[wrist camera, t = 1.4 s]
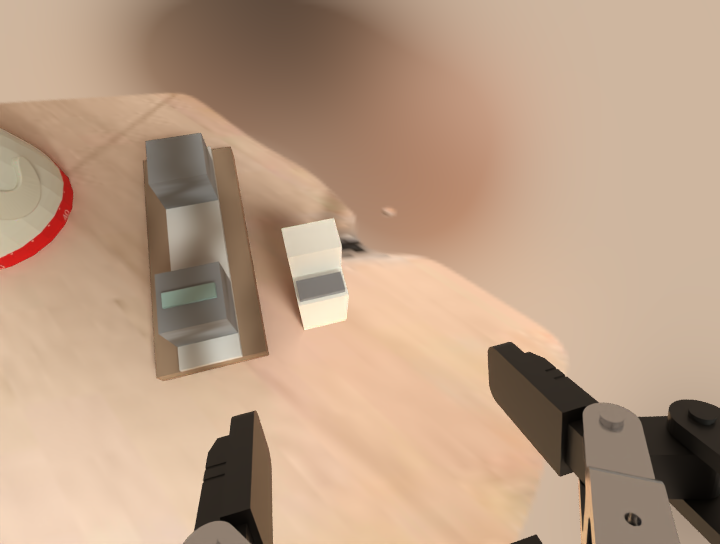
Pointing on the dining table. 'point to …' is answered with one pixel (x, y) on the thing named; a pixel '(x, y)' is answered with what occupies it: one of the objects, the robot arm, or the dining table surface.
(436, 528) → the dining table surface
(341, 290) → the block
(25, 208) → the kitchen timer
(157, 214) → the rail plate
